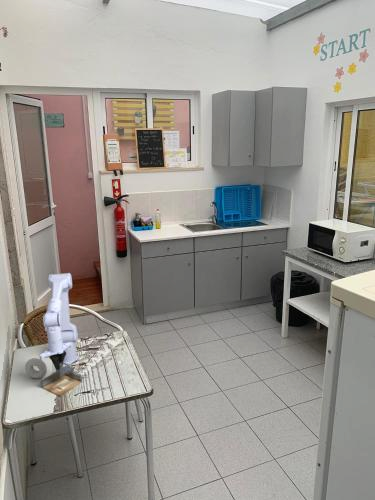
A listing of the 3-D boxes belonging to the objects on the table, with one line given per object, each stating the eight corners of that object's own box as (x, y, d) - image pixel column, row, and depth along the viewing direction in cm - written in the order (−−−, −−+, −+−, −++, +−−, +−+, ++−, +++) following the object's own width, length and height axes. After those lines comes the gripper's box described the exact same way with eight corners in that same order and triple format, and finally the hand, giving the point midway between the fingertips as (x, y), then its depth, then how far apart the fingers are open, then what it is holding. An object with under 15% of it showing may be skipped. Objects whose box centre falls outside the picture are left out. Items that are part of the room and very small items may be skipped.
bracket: (61, 376, 163) (59, 363, 162) (56, 372, 166) (54, 360, 164) (73, 370, 168) (72, 357, 166) (68, 366, 170) (66, 354, 169)
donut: (25, 379, 173) (22, 359, 171) (29, 375, 176) (26, 355, 174) (45, 381, 172) (43, 361, 169) (49, 376, 175) (46, 357, 172)
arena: (41, 387, 167) (40, 380, 166) (64, 374, 176) (63, 367, 176) (60, 396, 160) (59, 389, 160) (82, 382, 170) (81, 374, 169)
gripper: (44, 349, 153) (48, 379, 156) (75, 335, 163) (78, 364, 167) (35, 343, 157) (39, 373, 161) (66, 330, 168) (69, 358, 171)
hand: (58, 368), depth 164 cm, fingers closed on bracket
